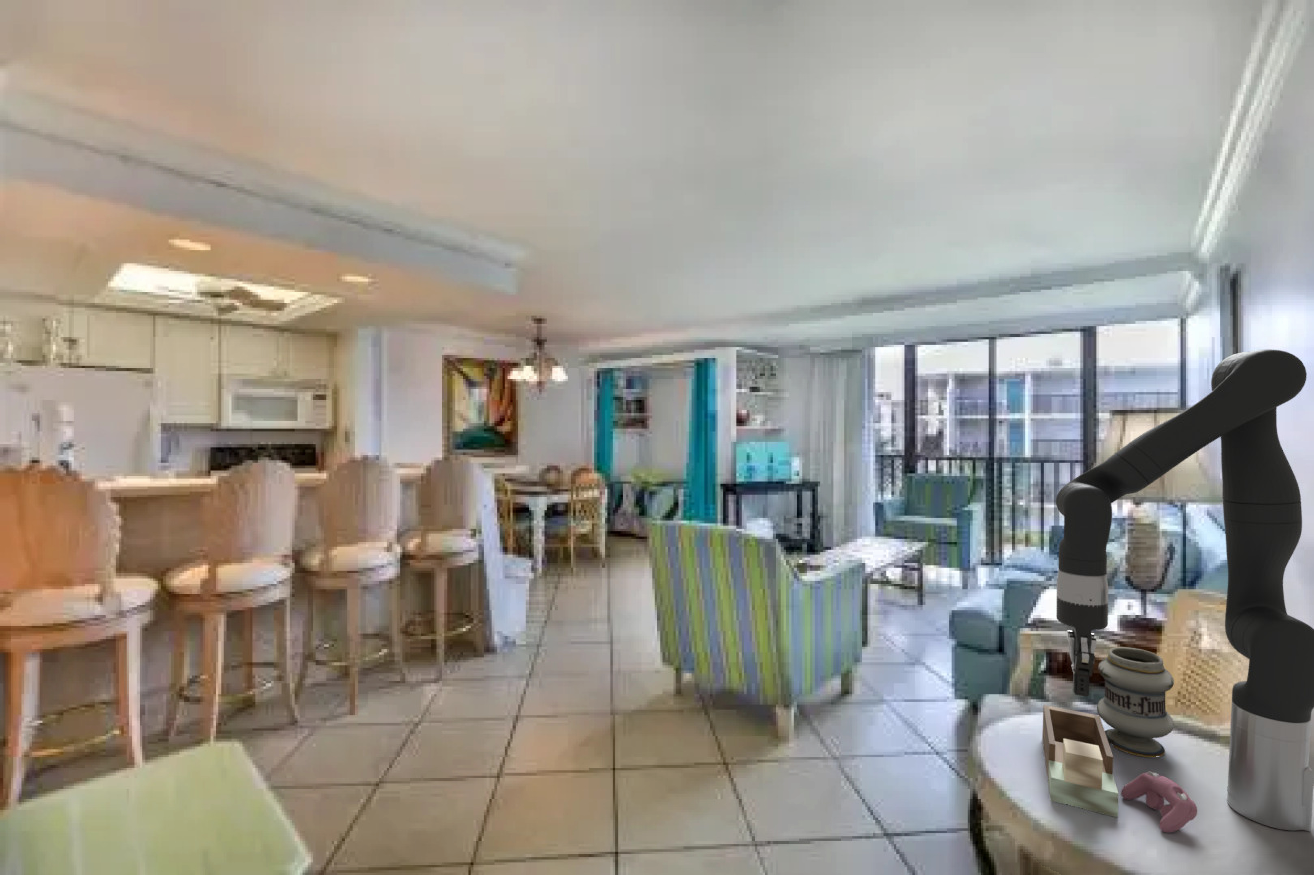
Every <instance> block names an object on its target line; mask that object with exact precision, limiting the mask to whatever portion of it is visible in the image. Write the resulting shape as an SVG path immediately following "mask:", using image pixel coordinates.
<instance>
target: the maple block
mask: <svg viewBox="0 0 1314 875" xmlns="http://www.w3.org/2000/svg"><path fill="white" fill-rule="evenodd" d="M1062 767H1063V773H1064V778H1065V782H1069V783H1073V784H1078V785H1082V786H1086V787H1090V788H1094V789H1099V790H1102V768H1103V759H1102V756H1101V753H1100V749H1099V746H1097V745H1093V744H1088V743H1083V742H1078V741H1074V740H1069V739H1064V738H1063V764H1062Z"/></svg>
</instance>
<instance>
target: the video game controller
mask: <svg viewBox="0 0 1314 875" xmlns="http://www.w3.org/2000/svg"><path fill="white" fill-rule="evenodd" d="M1120 792H1121V793H1120V794H1121V797H1122V798H1123V799H1124V800H1128V801H1129V800H1135V799H1138V798H1141V797H1143V796H1145V795H1146V797H1145V803H1146V805H1147V807H1150V808H1151V809H1153V810H1155V811H1160V815H1161V817H1162V818H1161V819H1160V820H1159V829H1160V830H1161V831H1162V832H1164V833H1174V832H1176V831H1179V830H1181V829H1182V828H1184V826H1186V825H1187V824H1188V823H1189V822H1191V821H1192V820H1194V819H1195V818H1196V817H1197V815H1198V807H1197V804H1196V803H1195V801H1194V800H1192V799H1191V797H1190V796H1189V794H1188V793H1187V792H1186V791H1185V790H1184V789H1183V788H1182V787H1181V786H1180V785H1179V784H1177V782H1175V781H1173V780H1171V779H1170V778H1168V777H1166V776H1164V775H1161V774H1159V773H1156V772H1152V771H1150V770H1149V771H1147V772H1143V773H1141V774H1140V775H1138V776H1137V777H1135V778H1134V779H1132V780H1131V781H1130V782H1128V783H1126V784H1125V785H1124V786H1123V787H1122V789H1121V791H1120ZM1165 800H1166V801H1167V802H1168V804H1165Z"/></svg>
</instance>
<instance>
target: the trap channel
mask: <svg viewBox="0 0 1314 875" xmlns="http://www.w3.org/2000/svg"><path fill="white" fill-rule="evenodd" d="M1042 710H1043V711H1042V713H1043V714H1042V738H1041V741H1042V747H1043V754H1044V761H1045V762H1044V763H1045V769H1046V776H1047V785H1048V791H1049V792H1048V793H1049V798H1050V799H1049V800H1050V802H1054V803H1058V804H1062V803H1063V804H1062V805H1066V804H1068V805H1067V806H1070V805H1071V807H1074V806H1075V808H1078V807H1080V808H1079V809H1082V808H1083V809H1082V810H1086V811H1090V812H1094V813H1098V812H1099V813H1098V814H1102V815H1106V816H1110V817H1114V818H1119V816H1118V814H1119V791H1118V787H1117V785H1116V781H1115V778H1114V774H1113V771H1114V755H1113V753H1112V749H1111V747H1110V743H1108V740H1107V737H1106V734H1105V731H1106V730H1105V727H1104V725H1103V722H1102V718H1101V717H1100V716H1099V714H1098V715H1097V714H1093V713H1087V712H1083V711H1078V710H1072V709H1066V708H1061V707H1057V706H1051V705H1046V704H1043V707H1042ZM1063 738H1064V739H1069V740H1074V741H1078V742H1083V743H1088V744H1093V745H1097V746H1099V749H1100V753H1101V756H1102V759H1103V768H1102V790H1099V789H1094V788H1090V787H1086V786H1082V785H1078V784H1073V783H1069V782H1065V778H1064V773H1063V767H1062V764H1063Z"/></svg>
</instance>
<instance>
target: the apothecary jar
mask: <svg viewBox="0 0 1314 875" xmlns="http://www.w3.org/2000/svg"><path fill="white" fill-rule="evenodd" d="M1097 666H1098V672H1099V674H1100V676H1101V677H1102V678H1103V679H1104V697H1102V698H1101V699H1100V700H1099V701H1098V702H1097V705H1096V711H1097V714H1098V715H1099V716H1100V719H1101V720H1103V722H1104V723H1106V725H1108V726H1110V728H1109V729H1106V730H1104V731H1105V734H1106V737H1107V740H1108V743H1109V745H1112V747H1114V748H1115V749H1117V750H1119V751H1121V752H1123V753H1127V754H1130V755H1133V756H1137V757H1141V758H1142V757H1143V758H1149V757H1155V758H1157V757H1156V756H1160V757H1162V755H1163V756H1164V755H1165V754H1166V749H1165V747H1164V746H1163V744H1161V743H1160V742H1159V741H1157V740H1156V739H1158V738H1163V737H1166V736H1168V735H1169V734H1170V733H1172V731H1173V730H1174V727H1175V724H1174V720H1173V718H1172V716H1171V715H1170V713H1169V712H1168V711H1167V710H1166V707H1167V706H1166V692H1168V691H1170V690H1171V689H1173V687H1174V684H1175V680H1174V677H1173V674H1171V672H1170V671H1168V670H1167V669H1166V668H1165V665H1164V660H1163V658H1162V657H1161V656H1160V655H1158V654H1156V653H1155V652H1152V651H1148V650H1144V649H1141V648H1134V647H1125V646H1117V647H1112V648H1110V649H1109V651H1108V654H1107V657H1105V658H1103V659H1102V660H1101V661H1100V662H1099V663H1098V665H1097ZM1164 753H1165V754H1164Z"/></svg>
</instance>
